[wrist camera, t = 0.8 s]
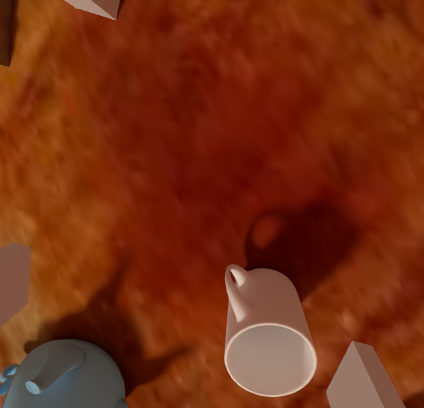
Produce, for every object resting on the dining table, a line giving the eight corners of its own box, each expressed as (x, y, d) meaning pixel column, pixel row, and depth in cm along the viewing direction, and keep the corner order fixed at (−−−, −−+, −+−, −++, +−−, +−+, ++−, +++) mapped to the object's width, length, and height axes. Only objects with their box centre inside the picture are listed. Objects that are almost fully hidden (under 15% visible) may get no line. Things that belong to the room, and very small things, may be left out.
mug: (259, 232, 35) (265, 278, 25) (309, 305, 37) (334, 376, 27) (201, 265, 37) (186, 320, 27) (252, 333, 39) (256, 409, 29)
